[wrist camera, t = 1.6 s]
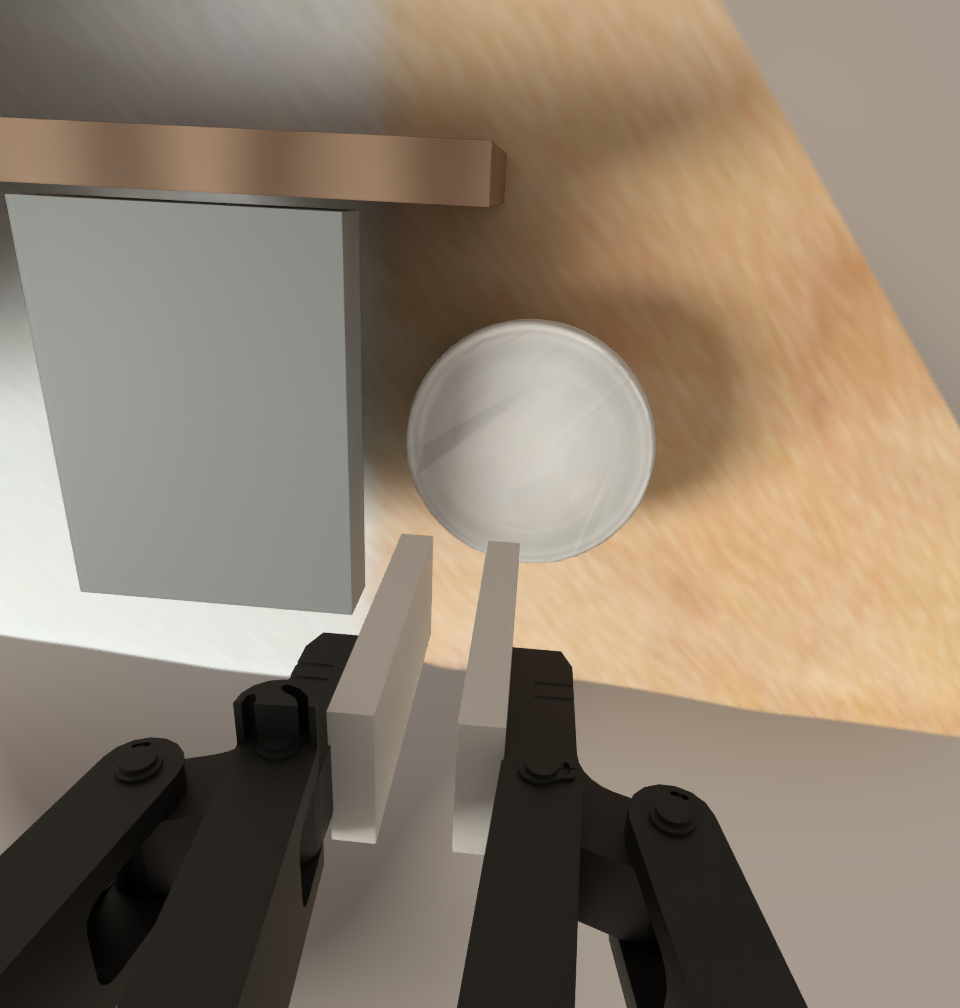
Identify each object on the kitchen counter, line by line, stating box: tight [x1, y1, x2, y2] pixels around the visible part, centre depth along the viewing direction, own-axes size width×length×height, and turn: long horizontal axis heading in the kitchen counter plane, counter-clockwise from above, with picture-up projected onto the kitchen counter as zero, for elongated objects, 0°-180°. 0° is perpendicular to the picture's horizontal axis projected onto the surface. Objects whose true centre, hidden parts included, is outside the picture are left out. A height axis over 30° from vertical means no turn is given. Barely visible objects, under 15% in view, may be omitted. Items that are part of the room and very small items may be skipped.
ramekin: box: [406, 319, 656, 563], centre depth 35 cm, size 11×11×5 cm
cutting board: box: [0, 117, 506, 207], centre depth 29 cm, size 28×2×10 cm, turn 87°
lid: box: [5, 194, 365, 615], centre depth 30 cm, size 12×16×2 cm
